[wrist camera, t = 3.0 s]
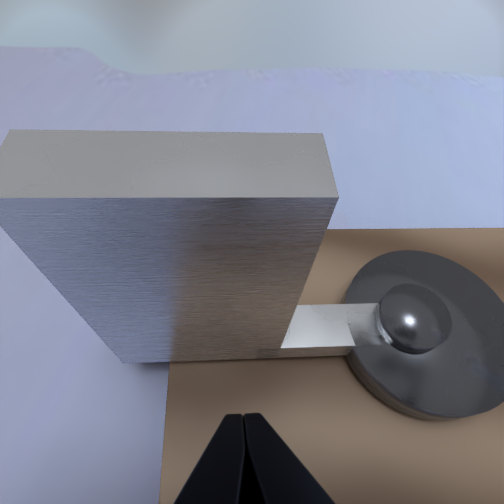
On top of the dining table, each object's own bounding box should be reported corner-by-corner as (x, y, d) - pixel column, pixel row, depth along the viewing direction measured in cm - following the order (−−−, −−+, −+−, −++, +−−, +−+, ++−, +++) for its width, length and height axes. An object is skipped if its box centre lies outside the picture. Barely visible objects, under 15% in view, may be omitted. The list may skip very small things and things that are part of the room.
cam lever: (462, 264, 20) (666, 74, 11) (530, 417, 16) (979, 320, 6) (138, 269, 19) (46, 57, 9) (113, 438, 14) (-107, 357, 5)
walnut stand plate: (716, 611, 14) (764, 624, 13) (153, 667, 12) (144, 688, 11) (509, 241, 24) (525, 227, 22) (182, 244, 22) (179, 230, 21)
